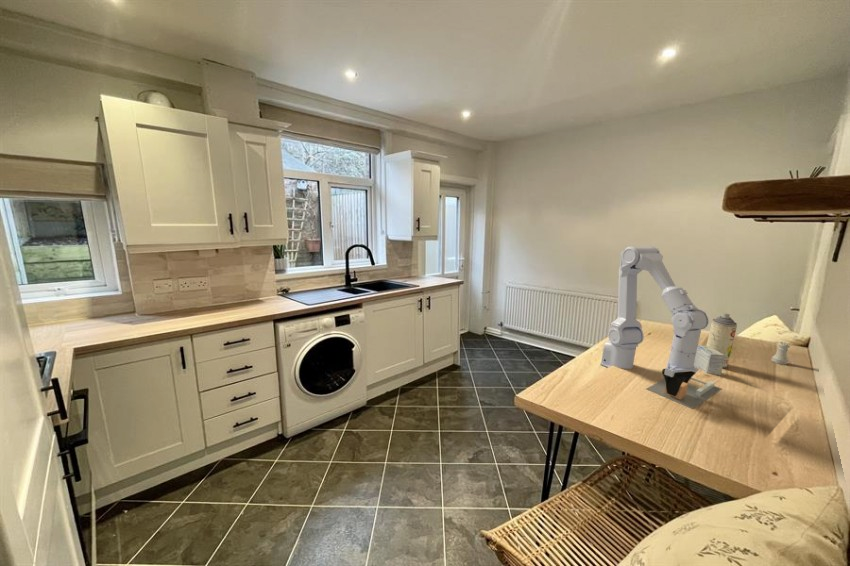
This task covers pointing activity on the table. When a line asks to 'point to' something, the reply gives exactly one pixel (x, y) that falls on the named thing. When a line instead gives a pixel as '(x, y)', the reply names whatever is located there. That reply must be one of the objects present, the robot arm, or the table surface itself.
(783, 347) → the rook chess piece
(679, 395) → the block
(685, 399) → the channel
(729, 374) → the table surface
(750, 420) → the table surface
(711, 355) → the medicine box
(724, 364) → the aerosol can
